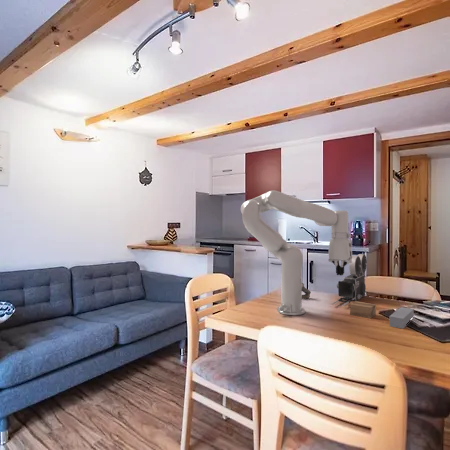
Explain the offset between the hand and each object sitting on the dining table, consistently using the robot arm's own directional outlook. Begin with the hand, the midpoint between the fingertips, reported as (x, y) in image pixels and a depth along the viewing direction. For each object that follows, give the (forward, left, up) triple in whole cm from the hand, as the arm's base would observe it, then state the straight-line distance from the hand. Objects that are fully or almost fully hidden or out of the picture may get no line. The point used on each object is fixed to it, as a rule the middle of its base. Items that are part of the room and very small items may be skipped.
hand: (340, 274), depth 152 cm
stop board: (0, -27, -17) cm, 32 cm away
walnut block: (0, -11, -17) cm, 20 cm away
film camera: (+23, +4, -17) cm, 29 cm away
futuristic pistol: (+8, +28, -17) cm, 34 cm away
